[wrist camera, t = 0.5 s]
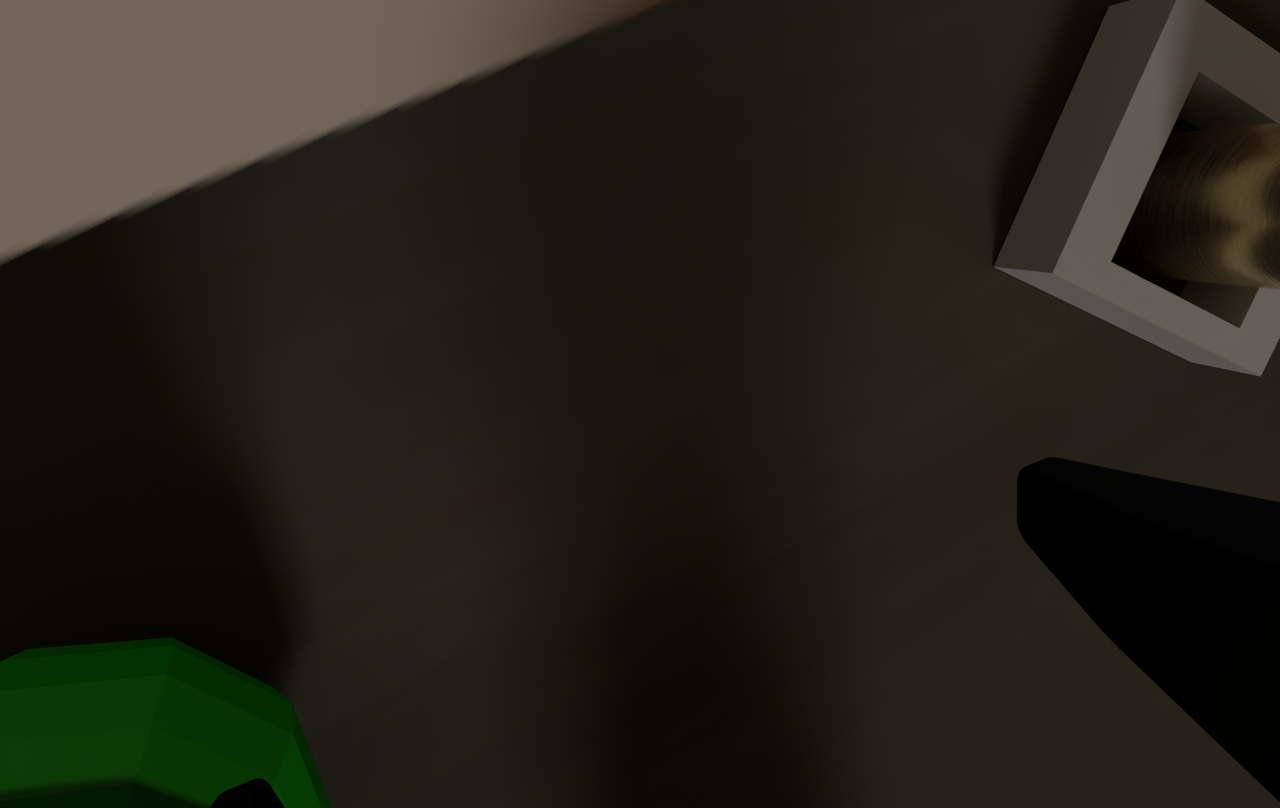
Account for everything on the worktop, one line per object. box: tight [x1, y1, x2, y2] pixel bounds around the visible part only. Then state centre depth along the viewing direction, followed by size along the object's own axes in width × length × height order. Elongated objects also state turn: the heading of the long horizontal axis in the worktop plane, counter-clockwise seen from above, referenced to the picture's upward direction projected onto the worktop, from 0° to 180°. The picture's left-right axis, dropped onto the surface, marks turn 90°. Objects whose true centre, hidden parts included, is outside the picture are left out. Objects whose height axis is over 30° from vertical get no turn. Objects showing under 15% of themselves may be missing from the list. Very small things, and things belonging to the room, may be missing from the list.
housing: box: [994, 0, 1280, 376], centre depth 25 cm, size 8×9×2 cm
